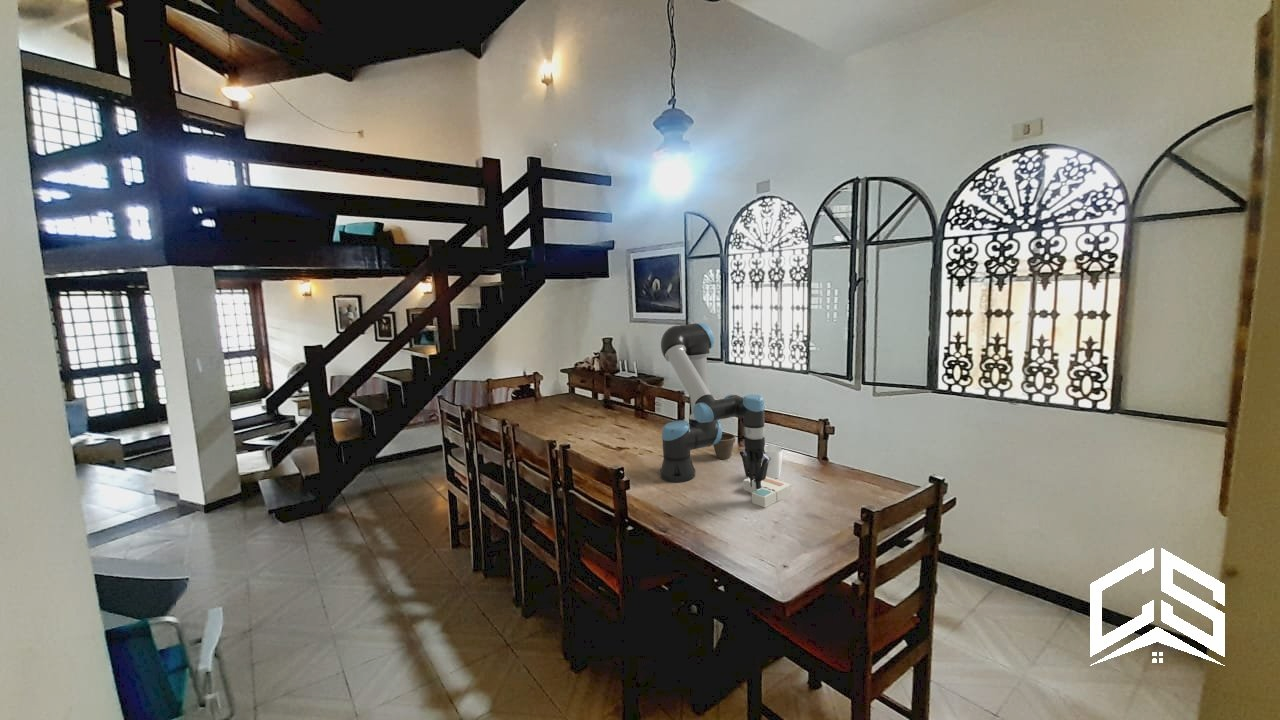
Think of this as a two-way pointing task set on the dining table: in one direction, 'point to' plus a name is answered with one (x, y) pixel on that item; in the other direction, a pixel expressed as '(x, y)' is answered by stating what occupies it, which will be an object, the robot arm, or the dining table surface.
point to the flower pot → (724, 446)
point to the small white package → (772, 487)
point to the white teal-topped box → (764, 497)
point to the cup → (773, 461)
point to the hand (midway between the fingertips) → (755, 495)
